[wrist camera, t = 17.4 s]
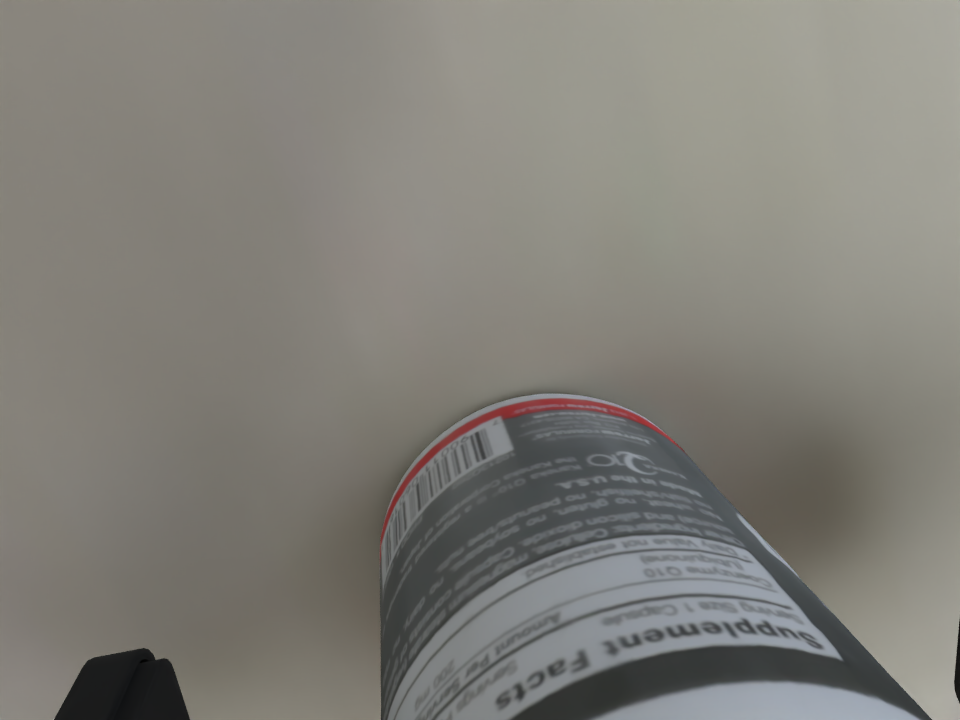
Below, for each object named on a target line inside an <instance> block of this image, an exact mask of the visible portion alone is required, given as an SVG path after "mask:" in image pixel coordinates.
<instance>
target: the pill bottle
mask: <svg viewBox="0 0 960 720" xmlns="http://www.w3.org/2000/svg"><path fill="white" fill-rule="evenodd" d="M380 618H381V720H932V719H931V718H930V717H929V716H928V715H927V714H926V713H925V712H924V711H923V710H922V709H921V707H920V706H919V705H918V704H917V703H916V702H915V701H914V700H913V699H912V698H911V697H910V696H909V695H908V694H907V693H906V692H905V691H904V689H903V688H902V687H901V686H900V685H899V684H898V683H897V682H896V681H895V680H894V679H893V678H892V677H891V676H890V675H889V674H888V673H887V671H886V670H885V669H884V668H883V667H882V666H881V665H880V664H879V663H878V662H877V661H876V660H875V659H874V657H873V656H872V655H871V654H870V653H869V652H868V651H867V650H866V649H865V648H864V647H863V646H862V644H861V643H860V642H859V641H858V640H857V639H856V638H855V637H854V636H853V635H852V634H851V632H850V631H849V630H848V629H847V628H846V627H845V626H844V625H843V624H842V623H841V622H840V621H839V619H838V618H837V617H836V616H835V615H834V614H833V613H832V612H831V611H830V610H829V609H828V608H827V607H826V605H825V604H824V603H823V602H822V601H821V600H820V599H819V598H818V597H817V596H816V595H815V594H814V593H813V592H812V591H811V590H810V589H809V588H808V587H807V586H806V585H805V584H804V583H803V582H802V580H801V579H800V578H799V576H798V575H797V574H796V572H795V571H794V570H793V569H792V568H791V567H790V566H789V565H788V564H787V563H786V561H785V560H784V559H783V558H782V557H781V556H780V555H779V554H778V553H777V552H776V551H775V550H774V549H773V548H772V547H771V546H770V545H769V544H768V543H767V542H766V541H765V540H764V539H763V538H762V537H761V536H760V535H759V533H758V532H756V531H755V530H754V529H753V527H752V526H751V525H750V524H749V523H748V522H747V520H746V519H745V518H744V517H743V516H742V515H741V514H740V513H739V512H738V511H737V509H736V508H735V507H734V506H733V505H732V504H731V503H730V502H729V501H728V500H727V499H726V498H725V497H724V495H723V494H722V493H721V492H720V491H719V490H718V489H717V488H716V487H715V486H714V485H713V483H712V482H711V481H710V480H709V479H708V478H707V477H706V476H705V475H704V473H703V472H702V471H701V470H700V469H699V468H698V467H697V465H696V464H695V463H694V462H693V461H692V460H691V459H690V458H689V457H688V456H687V454H686V453H685V452H684V450H683V449H682V448H681V447H679V446H678V445H677V444H676V443H675V442H674V441H673V440H672V439H671V438H670V437H669V436H668V435H667V434H666V433H665V432H663V431H662V430H661V429H660V428H658V427H657V426H656V425H655V424H653V423H652V422H651V421H649V420H648V419H646V418H644V417H643V416H641V415H639V414H637V413H635V412H633V411H631V410H629V409H627V408H625V407H622V406H620V405H618V404H615V403H611V402H608V401H604V400H601V399H596V398H591V397H586V396H581V395H571V394H536V395H528V396H522V397H517V398H512V399H509V400H505V401H502V402H498V403H495V404H492V405H490V406H487V407H485V408H483V409H481V410H479V411H477V412H475V413H473V414H471V415H469V416H467V417H465V418H464V419H462V420H460V421H459V422H457V423H456V424H454V425H453V426H451V427H450V428H449V429H447V430H446V431H444V432H443V433H442V434H441V435H439V436H438V437H437V438H436V439H435V440H434V441H433V442H431V443H430V444H429V445H428V446H427V447H426V448H425V449H424V450H423V452H422V453H421V454H420V455H419V456H418V457H417V458H416V459H415V460H414V462H413V463H412V464H411V465H410V467H409V468H408V470H407V471H406V473H405V474H404V476H403V478H402V479H401V481H400V483H399V484H398V486H397V488H396V490H395V492H394V494H393V496H392V499H391V501H390V504H389V507H388V509H387V513H386V516H385V520H384V523H383V528H382V533H381V540H380Z"/></svg>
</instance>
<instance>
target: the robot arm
mask: <svg viewBox="0 0 960 720" xmlns="http://www.w3.org/2000/svg"><path fill="white" fill-rule="evenodd" d="M954 684H955V692H956V695H957V698H958V700H959V703H960V621H959V633H958V645H957V656H956V668H955V680H954ZM54 720H190V718H189V715H188V712H187V709H186V706H185V703H184V700H183V697H182V693H181V690H180V687H179V684H178V681H177V678H176V675H175V672H174V669H173V666H172V664H171V662H170V661H169V660H168V659H165V658H163V659H158V660H155V657H154V655H153V654H152V653H151V651H150V650H149V649H145V648H142V649H137V650H132V651H126V652H121V653H116V654H111V655H105V656H100V657H95V658H92V659H90V660H88V661H87V662H86V664H85V665H84V666H83V668H82V670H81V671H80V673H79V675H78V677H77V679H76V680H75V682H74V684H73V686H72V688H71V690H70V691H69V693H68V695H67V697H66V699H65V701H64V702H63V704H62V706H61V708H60V710H59V712H58V713H57V715H56V717H55V719H54Z"/></svg>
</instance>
